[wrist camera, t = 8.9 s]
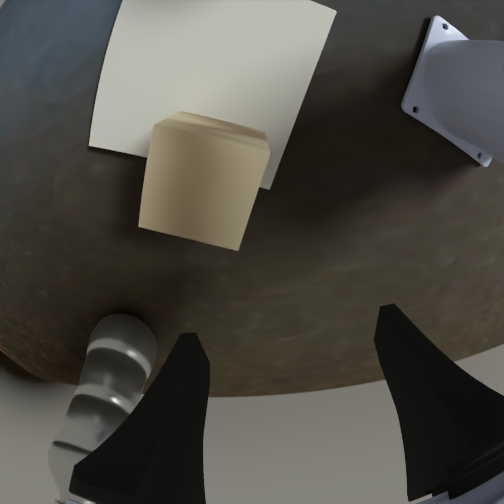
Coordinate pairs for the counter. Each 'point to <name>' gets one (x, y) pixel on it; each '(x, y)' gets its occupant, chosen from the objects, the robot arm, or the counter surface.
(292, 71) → the plate
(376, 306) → the counter surface
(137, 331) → the plastic bottle
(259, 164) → the cube
